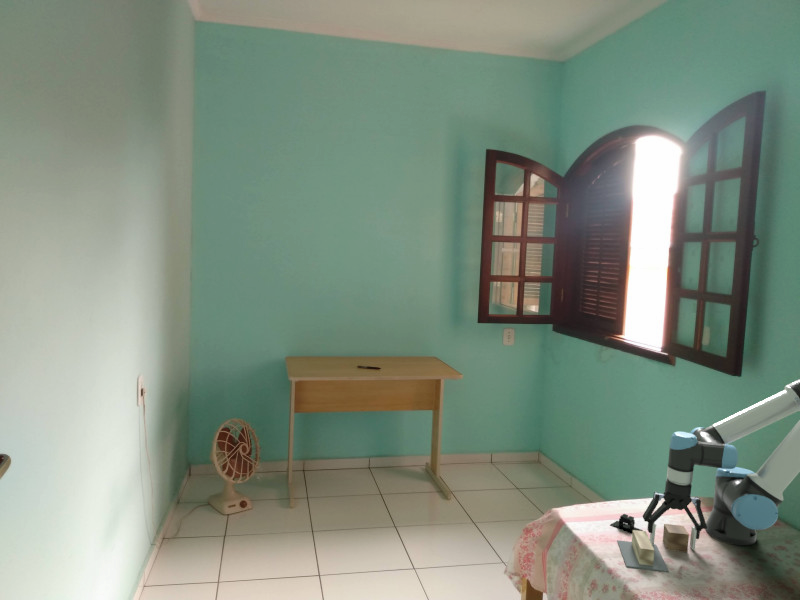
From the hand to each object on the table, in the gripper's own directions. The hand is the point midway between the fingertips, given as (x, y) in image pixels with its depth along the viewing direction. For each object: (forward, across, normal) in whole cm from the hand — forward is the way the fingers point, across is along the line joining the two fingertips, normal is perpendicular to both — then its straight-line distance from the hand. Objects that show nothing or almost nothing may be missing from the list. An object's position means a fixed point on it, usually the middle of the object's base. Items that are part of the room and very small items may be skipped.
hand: (671, 544), depth 198 cm
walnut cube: (0, -1, 0) cm, 1 cm away
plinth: (0, +11, +9) cm, 14 cm away
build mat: (+1, +11, +9) cm, 14 cm away
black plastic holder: (+2, +12, -10) cm, 16 cm away
